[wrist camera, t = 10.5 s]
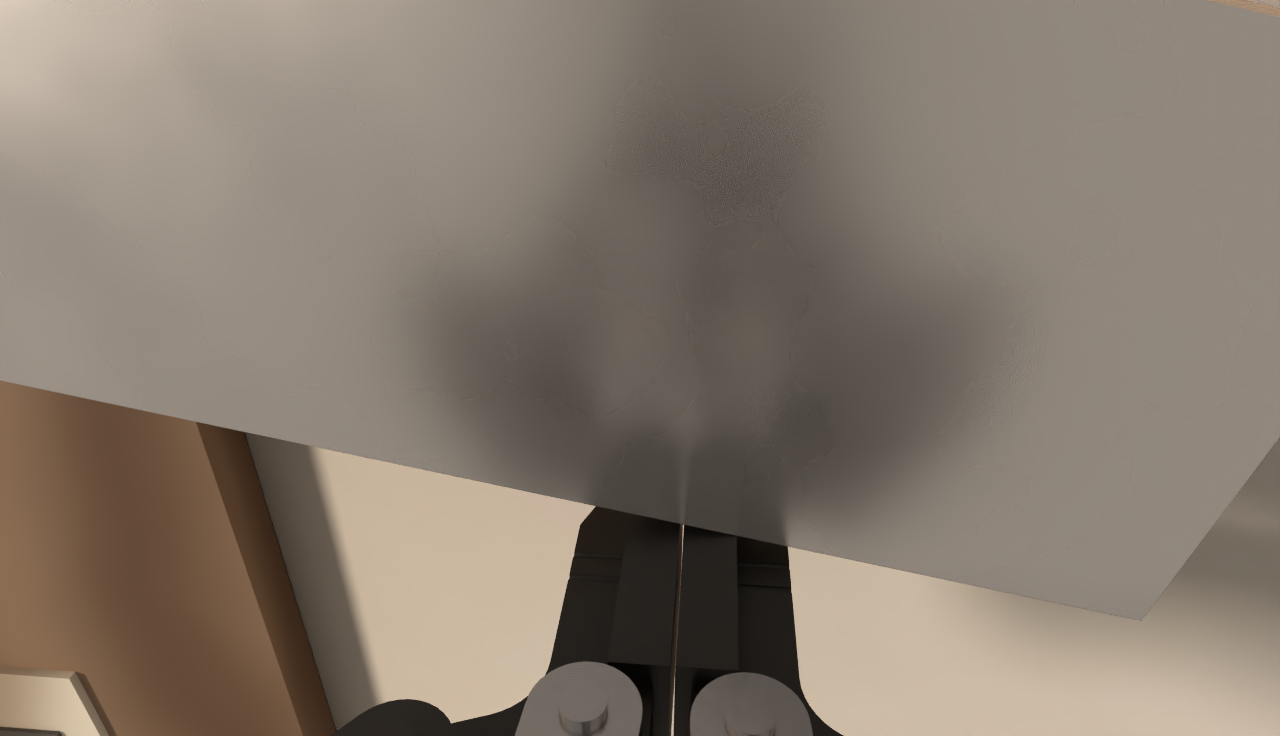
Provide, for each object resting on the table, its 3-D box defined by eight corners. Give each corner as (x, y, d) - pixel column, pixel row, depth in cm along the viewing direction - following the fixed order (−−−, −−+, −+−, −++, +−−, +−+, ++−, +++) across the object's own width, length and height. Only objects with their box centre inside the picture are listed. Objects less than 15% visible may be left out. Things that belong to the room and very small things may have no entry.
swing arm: (-1052, -533, 9) (-1867, -708, 6) (1370, 30, 9) (1633, 103, 7) (-639, 133, 12) (-1025, 213, 10) (1076, 500, 13) (1168, 671, 10)
